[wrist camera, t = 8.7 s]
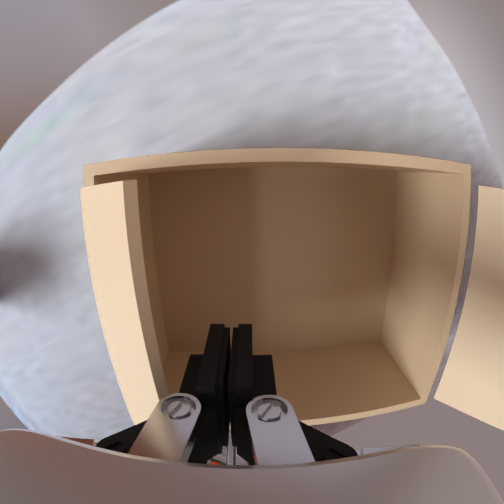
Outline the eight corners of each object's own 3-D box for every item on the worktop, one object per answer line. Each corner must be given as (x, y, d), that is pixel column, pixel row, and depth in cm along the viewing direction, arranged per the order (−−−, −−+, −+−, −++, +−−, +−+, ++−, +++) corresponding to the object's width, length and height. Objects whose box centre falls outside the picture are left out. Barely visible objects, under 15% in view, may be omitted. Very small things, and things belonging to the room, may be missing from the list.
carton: (382, 342, 25) (425, 403, 16) (165, 352, 25) (136, 422, 16) (399, 164, 21) (471, 164, 12) (143, 166, 21) (83, 165, 12)
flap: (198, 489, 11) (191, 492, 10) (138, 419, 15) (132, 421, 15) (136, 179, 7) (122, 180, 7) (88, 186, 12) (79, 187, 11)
